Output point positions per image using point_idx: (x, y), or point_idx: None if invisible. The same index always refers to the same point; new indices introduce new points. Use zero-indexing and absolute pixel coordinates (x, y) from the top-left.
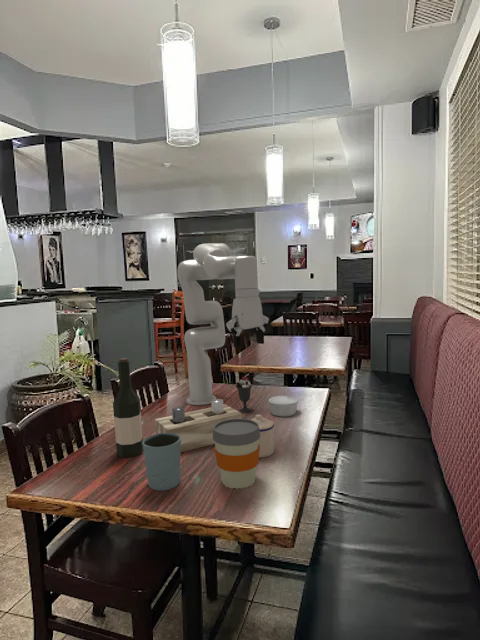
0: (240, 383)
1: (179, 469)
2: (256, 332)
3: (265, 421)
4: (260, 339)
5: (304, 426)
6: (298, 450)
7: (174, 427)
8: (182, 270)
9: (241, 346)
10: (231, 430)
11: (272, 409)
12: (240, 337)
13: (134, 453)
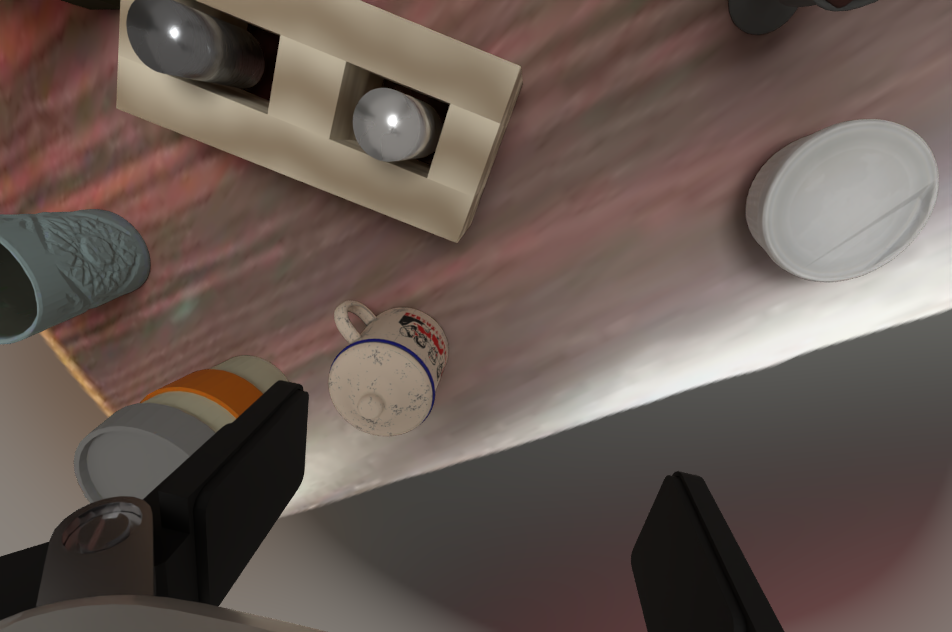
0: None
1: (109, 299)
2: (728, 627)
3: (380, 424)
4: (655, 582)
5: (674, 354)
6: (482, 425)
7: (151, 108)
8: None
9: (294, 490)
10: (134, 479)
11: (761, 179)
12: (206, 598)
13: (83, 6)
